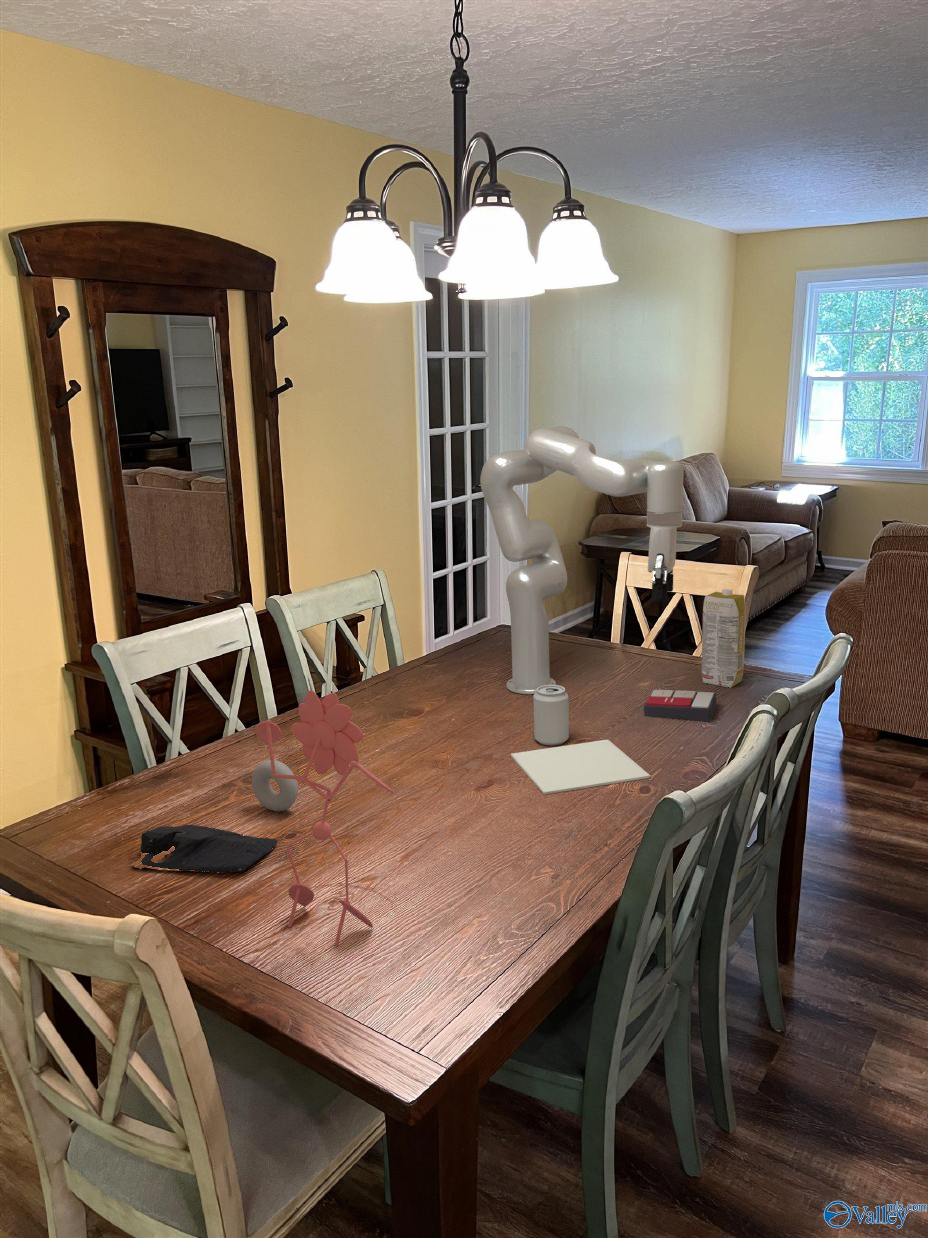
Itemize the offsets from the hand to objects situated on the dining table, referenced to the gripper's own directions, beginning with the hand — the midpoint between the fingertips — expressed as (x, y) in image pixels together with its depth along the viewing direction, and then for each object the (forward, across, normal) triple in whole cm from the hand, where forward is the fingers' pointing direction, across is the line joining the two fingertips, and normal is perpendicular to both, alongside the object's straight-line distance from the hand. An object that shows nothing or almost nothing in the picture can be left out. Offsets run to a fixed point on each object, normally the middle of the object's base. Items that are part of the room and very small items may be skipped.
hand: (662, 596), depth 202 cm
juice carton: (+29, -29, +12) cm, 43 cm away
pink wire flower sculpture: (+29, +93, -33) cm, 103 cm away
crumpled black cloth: (+30, +83, -64) cm, 109 cm away
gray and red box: (+29, -6, +4) cm, 30 cm away
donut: (+29, +65, -62) cm, 94 cm away
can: (+29, +19, -20) cm, 40 cm away
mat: (+29, +32, -12) cm, 44 cm away
